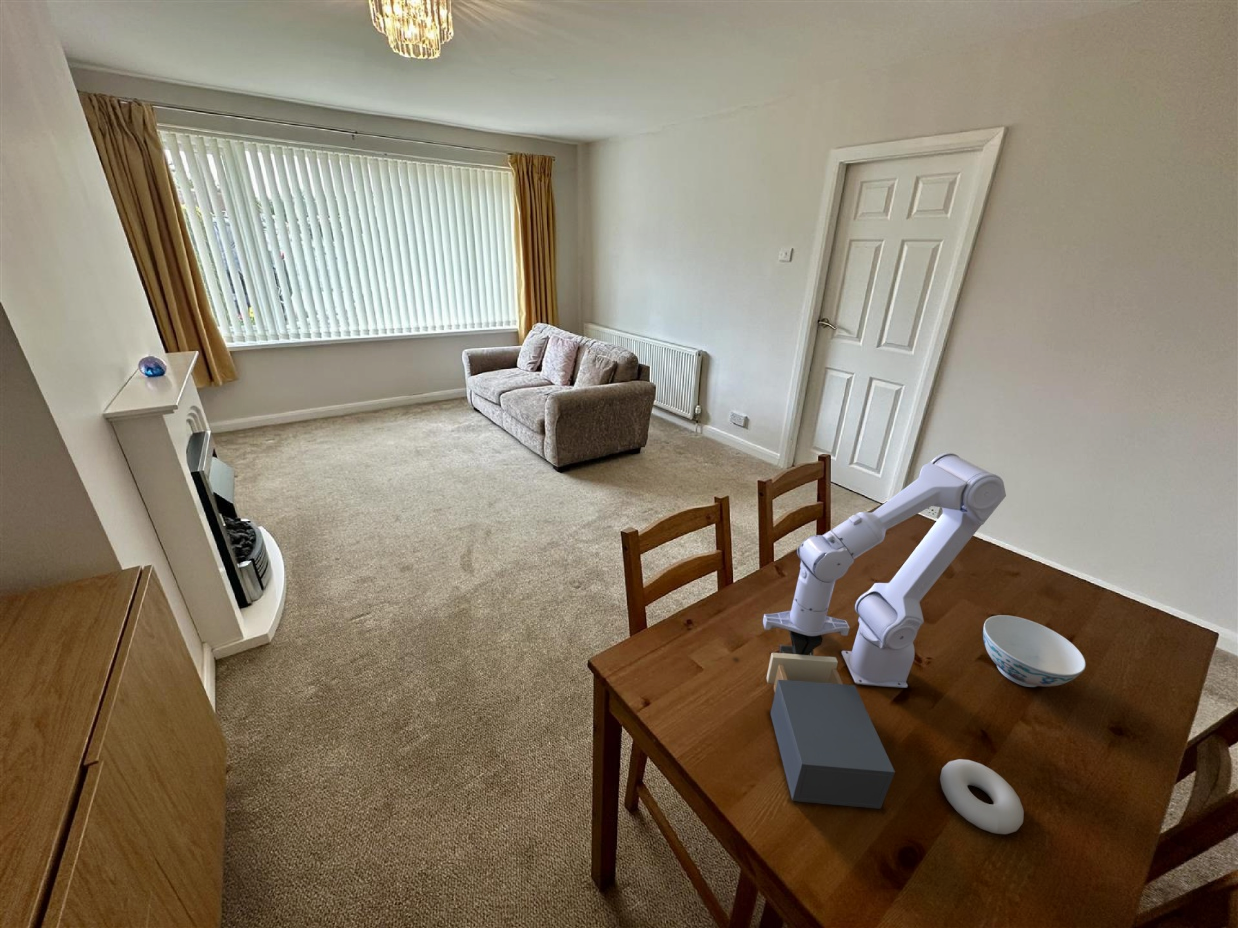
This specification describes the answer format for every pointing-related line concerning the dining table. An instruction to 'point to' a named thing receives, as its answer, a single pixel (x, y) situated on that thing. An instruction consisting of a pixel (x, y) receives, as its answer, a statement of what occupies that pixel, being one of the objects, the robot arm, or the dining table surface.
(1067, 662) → the chinaware
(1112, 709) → the dining table surface
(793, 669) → the drawer
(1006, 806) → the donut
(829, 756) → the cabinet
